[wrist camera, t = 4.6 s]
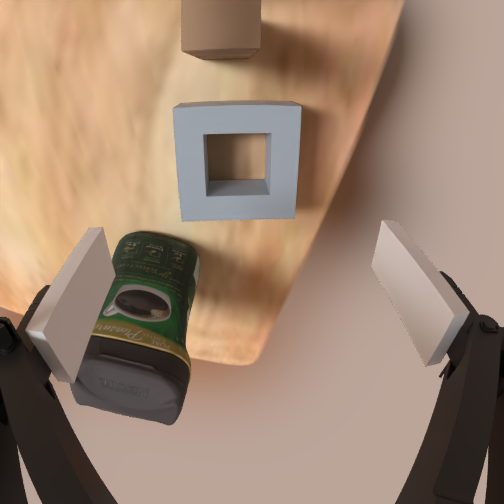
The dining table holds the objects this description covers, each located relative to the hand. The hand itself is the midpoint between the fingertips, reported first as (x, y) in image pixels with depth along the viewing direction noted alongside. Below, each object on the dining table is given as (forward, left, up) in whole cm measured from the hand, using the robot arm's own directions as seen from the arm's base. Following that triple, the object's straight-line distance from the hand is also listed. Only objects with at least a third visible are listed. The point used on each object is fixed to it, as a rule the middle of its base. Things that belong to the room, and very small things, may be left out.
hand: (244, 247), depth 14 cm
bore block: (0, 0, -17) cm, 17 cm away
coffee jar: (-9, -12, -17) cm, 23 cm away
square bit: (-1, +11, -17) cm, 20 cm away
